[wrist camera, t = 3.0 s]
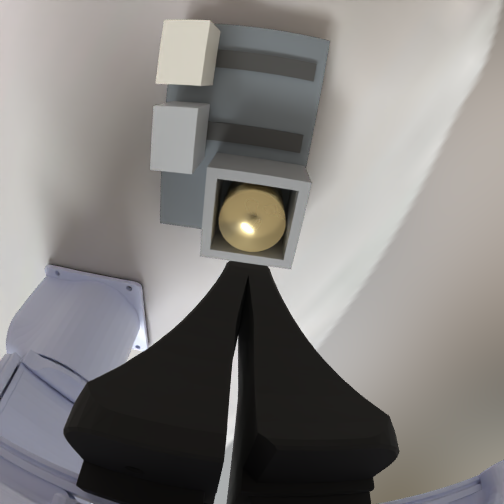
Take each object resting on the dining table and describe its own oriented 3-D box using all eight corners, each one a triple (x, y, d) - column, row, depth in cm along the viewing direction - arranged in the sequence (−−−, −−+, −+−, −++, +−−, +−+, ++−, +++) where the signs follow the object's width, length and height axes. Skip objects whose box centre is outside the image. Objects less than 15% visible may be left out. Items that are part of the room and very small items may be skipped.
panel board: (167, 213, 20) (144, 247, 16) (183, 27, 14) (157, 12, 10) (287, 230, 20) (292, 269, 16) (324, 44, 14) (343, 32, 10)
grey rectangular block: (168, 154, 16) (150, 169, 13) (172, 101, 14) (153, 105, 12) (204, 158, 16) (191, 174, 13) (210, 103, 14) (198, 108, 12)
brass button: (223, 221, 18) (215, 247, 16) (229, 168, 16) (222, 186, 14) (277, 229, 18) (279, 256, 16) (287, 177, 17) (291, 197, 14)
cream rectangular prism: (174, 83, 14) (155, 83, 11) (182, 29, 12) (164, 19, 10) (212, 85, 14) (200, 85, 11) (220, 31, 12) (210, 20, 10)
